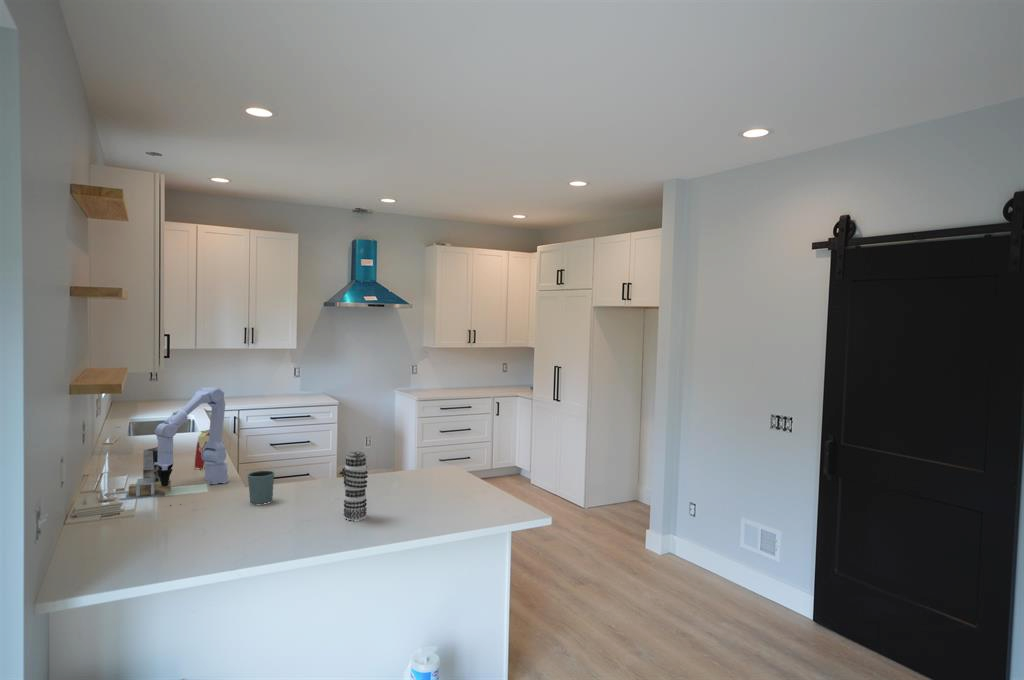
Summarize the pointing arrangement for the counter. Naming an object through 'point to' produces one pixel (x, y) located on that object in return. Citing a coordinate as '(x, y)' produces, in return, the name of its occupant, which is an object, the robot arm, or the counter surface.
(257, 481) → the green cup
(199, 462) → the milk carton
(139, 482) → the tunnel
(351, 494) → the striped cylindrical tower
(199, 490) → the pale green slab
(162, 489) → the oak bar
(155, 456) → the coffee box
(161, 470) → the robot arm
